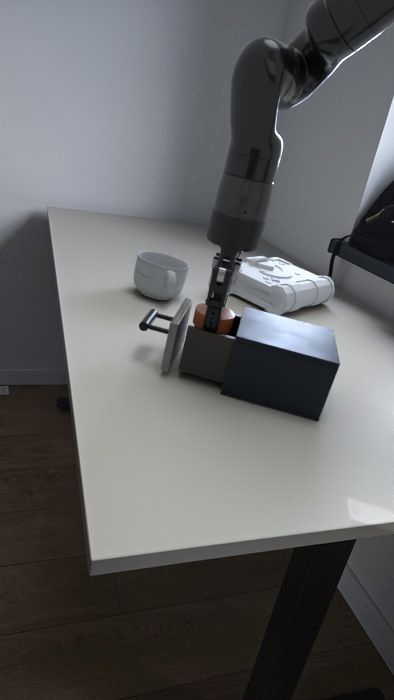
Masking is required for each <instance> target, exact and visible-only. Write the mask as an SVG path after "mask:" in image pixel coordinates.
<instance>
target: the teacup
mask: <svg viewBox="0 0 394 700" xmlns="http://www.w3.org/2000/svg"><path fill="white" fill-rule="evenodd" d="M190 266H191V265H190V264H189V263H188V262H187V261H186V260H184V259H182V258H180V257H178V256H176V255H172V254H170V253H165V252H162V251H157V250H139V251H138V252H137V253H136V261H135V265H134V270H133V283H134V285H135V287H136V288H137V289H138V291H139V292H140V293H141V295H143V296H145V297H147V298H150V299H153V300H159V301H168V300H172V299H174V298H175V297H177V296H179V295H180V294H181V292H182V291H183V289H184V286H185V282H186V280H187V276H188V272H189V269H190Z"/></svg>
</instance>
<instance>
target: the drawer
mask: <svg viewBox="0 0 394 700" xmlns="http://www.w3.org/2000/svg"><path fill="white" fill-rule="evenodd" d="M193 301H194V300H193V299H192V298H188V297H186V298H185V299H184V300H183V302H182V303H181V305H180V306H179V308H178V310H177V311H176V313H175V315H174V316H170V315H167V314H163V313H159V311H158V310H157V309H156V308H151V309H150V310H148V312H147V313H146V315H145V316H144V317H143V318H142V320H140V322H139V323H138V329H139V330H140V331H142V332H147V331H148V330H150V331H153V332H157V333H162V334H165V335H167V336H166V341H165V346H164V350H163V356H162V361H161V366H160V371H163V372H166V373H168V372H169V371H170V369H171V367H172V365H173V364H174V361H175V360H176V358H177V356H178V354H179V352H180V349H181V348H182V351H181V354H180V355H181V356H180V361H179V365H178V369H177V371H179V372H182V373H185V374H188V375H193V376H196V377H200V378H203V379H206V380H211V381H214V382H218V383H222V384H223V383H224V379H225V375H226V372H227V368H228V364H229V361H230V357H231V353H232V350H233V346H234V342H235V339H236V335H237V331H238V328H239V324H240V320H241V317H242V314H238V313H235V312H234V314H235V318H234V321H233V325H232V329H231V331H230V332H229V333H227V334H221V333H217V332H214V331H210V330H206V329H202V328H199V327H196V326H195V325H194V324H193V325H192V324H189V319H190V315H191V311H192V305H193ZM156 319H161V320H164V321H168V322H169V326H168V328H165V327H161V326H157V325H153V323H154V322H155V320H156Z"/></svg>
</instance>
